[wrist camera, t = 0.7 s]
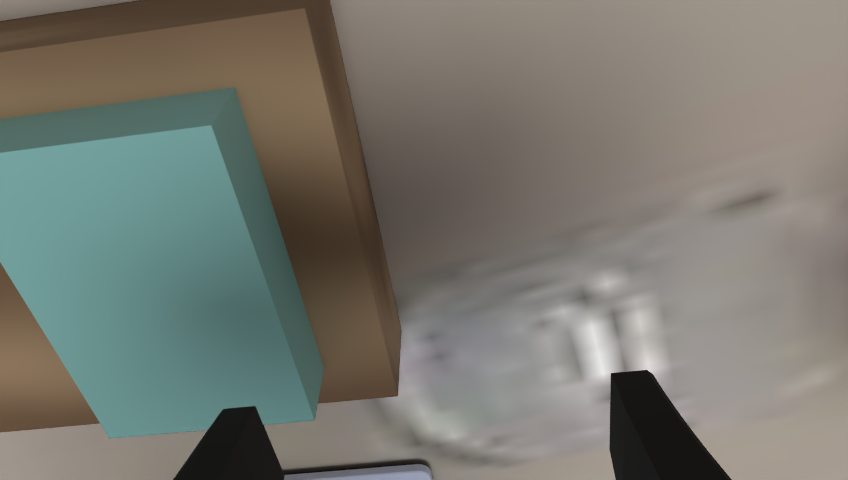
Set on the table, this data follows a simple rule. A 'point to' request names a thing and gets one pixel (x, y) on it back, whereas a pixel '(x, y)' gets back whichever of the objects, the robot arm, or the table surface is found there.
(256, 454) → the robot arm
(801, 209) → the table surface
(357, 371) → the deck
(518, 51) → the table surface
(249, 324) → the teal rectangular block
